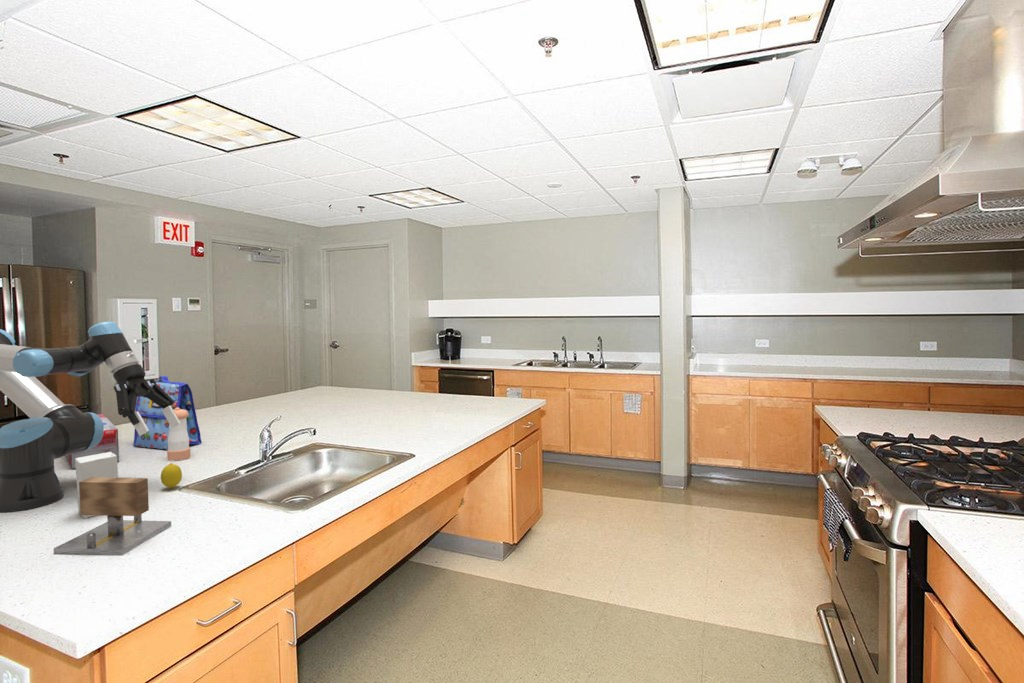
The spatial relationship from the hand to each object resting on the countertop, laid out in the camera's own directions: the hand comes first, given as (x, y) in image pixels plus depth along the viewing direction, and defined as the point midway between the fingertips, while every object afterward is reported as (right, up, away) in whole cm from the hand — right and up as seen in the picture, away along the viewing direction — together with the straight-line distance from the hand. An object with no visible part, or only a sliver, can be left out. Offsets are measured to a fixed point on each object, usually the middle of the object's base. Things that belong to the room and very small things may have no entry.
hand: (161, 429), depth 157 cm
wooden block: (+11, -15, -32) cm, 37 cm away
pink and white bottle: (-18, -17, +36) cm, 44 cm away
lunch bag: (-34, -16, +55) cm, 67 cm away
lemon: (+1, -19, +4) cm, 20 cm away
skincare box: (-7, -20, -15) cm, 26 cm away
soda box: (-55, -17, +41) cm, 71 cm away
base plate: (+11, -21, -32) cm, 40 cm away
